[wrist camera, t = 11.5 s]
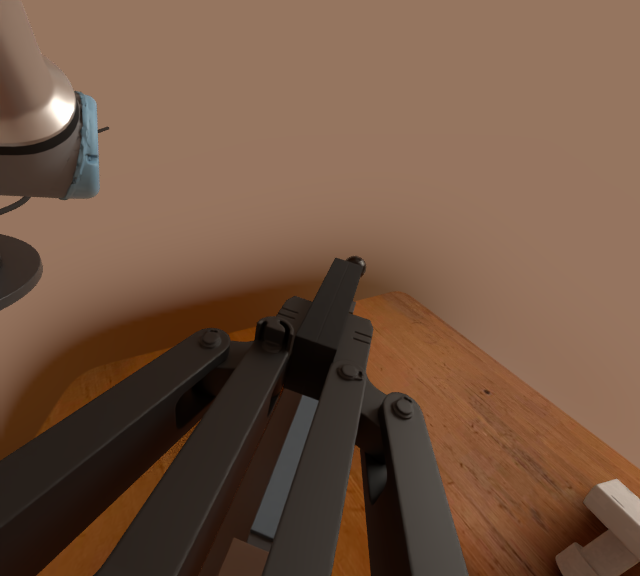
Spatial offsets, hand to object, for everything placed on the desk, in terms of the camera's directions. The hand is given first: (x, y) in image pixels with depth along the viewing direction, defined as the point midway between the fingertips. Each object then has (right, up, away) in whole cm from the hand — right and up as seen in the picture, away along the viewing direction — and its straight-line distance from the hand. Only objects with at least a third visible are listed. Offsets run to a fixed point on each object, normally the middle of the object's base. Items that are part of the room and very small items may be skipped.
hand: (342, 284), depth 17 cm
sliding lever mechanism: (-3, -16, +16) cm, 23 cm away
